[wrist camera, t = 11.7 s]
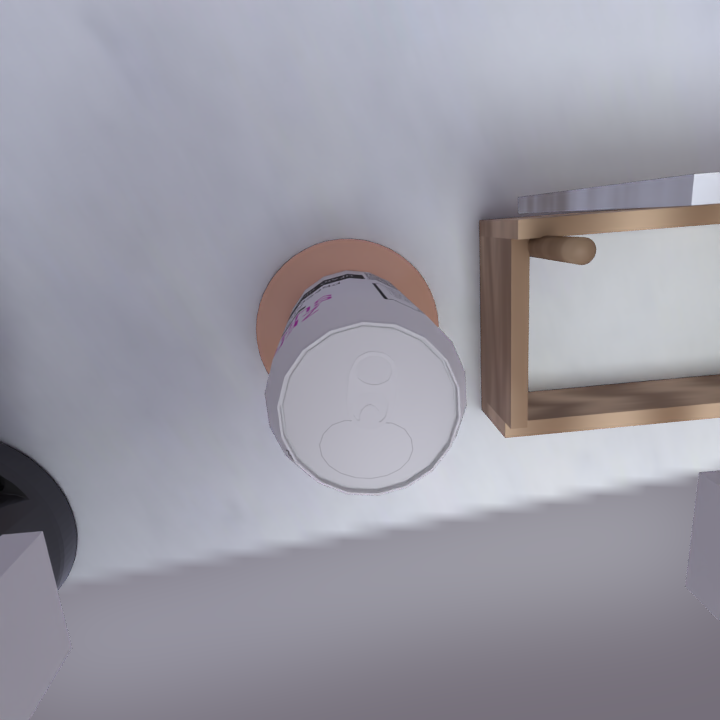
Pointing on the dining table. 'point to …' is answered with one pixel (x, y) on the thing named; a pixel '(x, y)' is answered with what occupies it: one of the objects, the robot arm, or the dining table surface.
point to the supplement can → (364, 386)
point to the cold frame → (550, 241)
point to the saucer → (326, 262)
